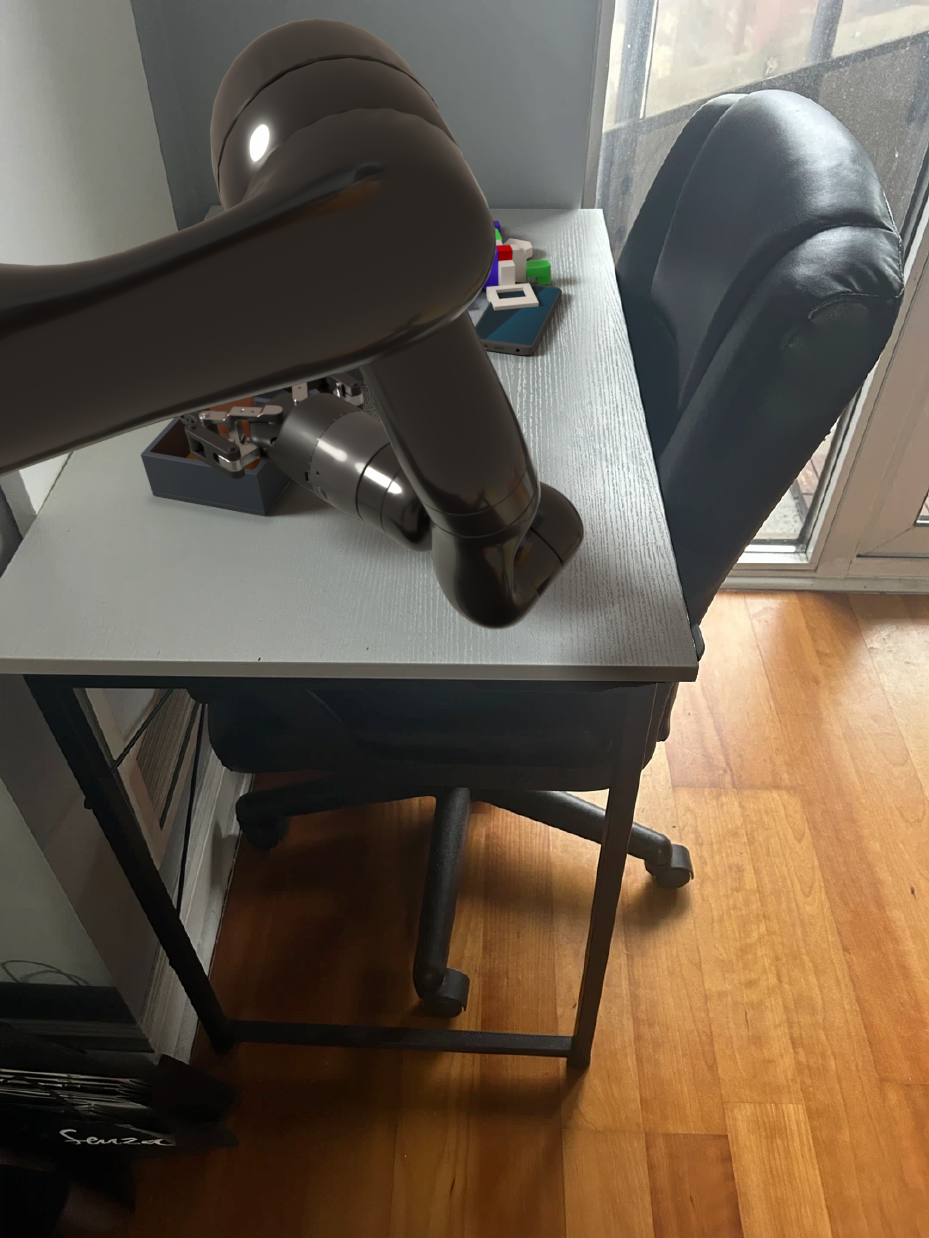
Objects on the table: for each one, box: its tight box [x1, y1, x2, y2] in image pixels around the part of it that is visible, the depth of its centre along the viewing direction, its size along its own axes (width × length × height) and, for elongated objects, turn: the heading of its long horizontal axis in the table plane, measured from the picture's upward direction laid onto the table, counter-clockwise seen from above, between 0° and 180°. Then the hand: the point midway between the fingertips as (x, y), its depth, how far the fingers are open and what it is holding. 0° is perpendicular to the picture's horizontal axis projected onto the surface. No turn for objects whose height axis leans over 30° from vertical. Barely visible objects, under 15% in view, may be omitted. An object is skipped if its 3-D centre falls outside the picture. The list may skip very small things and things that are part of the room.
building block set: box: [483, 219, 552, 310], centre depth 114 cm, size 25×20×4 cm
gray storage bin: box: [140, 368, 364, 517], centre depth 93 cm, size 32×11×4 cm, turn 163°
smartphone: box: [474, 282, 563, 356], centre depth 107 cm, size 8×15×1 cm, turn 163°
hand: (224, 385), depth 80 cm, fingers open, 8 cm apart
